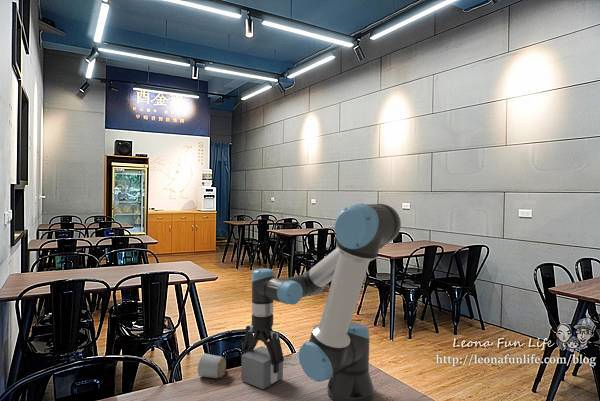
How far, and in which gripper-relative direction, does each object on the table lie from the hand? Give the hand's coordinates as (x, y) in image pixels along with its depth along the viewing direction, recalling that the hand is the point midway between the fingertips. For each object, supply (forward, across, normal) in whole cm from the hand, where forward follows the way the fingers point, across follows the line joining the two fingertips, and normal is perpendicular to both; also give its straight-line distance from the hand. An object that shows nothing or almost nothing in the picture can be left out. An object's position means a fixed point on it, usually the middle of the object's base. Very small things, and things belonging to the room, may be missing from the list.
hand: (262, 377), depth 139 cm
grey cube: (+1, 0, 0) cm, 1 cm away
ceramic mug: (+2, +17, +7) cm, 19 cm away
